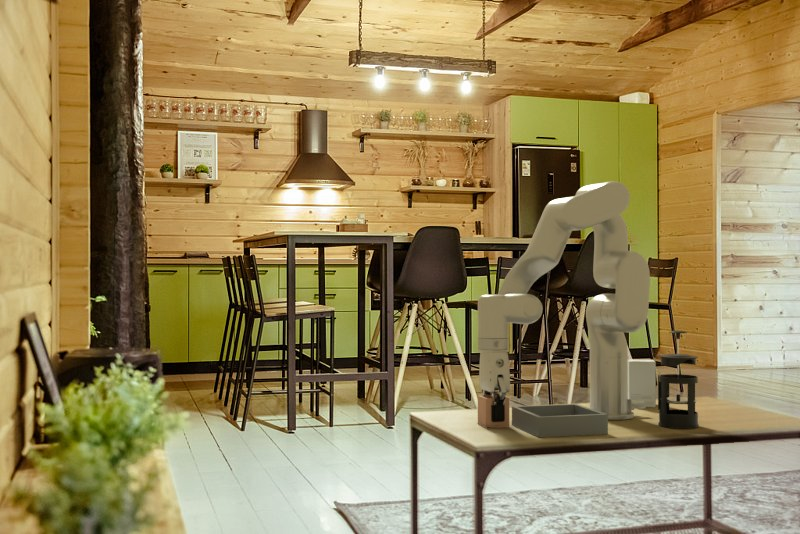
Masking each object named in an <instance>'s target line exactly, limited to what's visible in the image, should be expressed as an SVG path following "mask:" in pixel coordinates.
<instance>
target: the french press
mask: <svg viewBox="0 0 800 534" xmlns="http://www.w3.org/2000/svg"><path fill="white" fill-rule="evenodd" d="M668 333H669V334H675V339H676V340H677V341H676V344H677V345H676V346H677V347H676V348H677V352H676V353H667V354H660V355H658V358H660V365H661V366H665V367H677V373H667V374H666V373H665V374H658V375H657V410H658V411H659V412H658V413H659V414H658V415H659V416H658V419H659V421H658V424H657V425H658V427H662V428H664V429H666V428H667V429H671V430H693V429H698V428H699V427H700V425H699V413H698V411H696V402H697V398H696V384H697V383H698V381H699V380H698V379H699V377H698V376H697V375H692V374H683V373H682V374H680V365H681V364H683V365H684V364H685V365H694V366H697V365H696V364H697V359H698V356H697V355H691V354H688V353H687V354H685V353H680V339H681V334H688V331H684V330H671V331H669V332H668ZM670 384H673V385H675V384H676V385H677V393H676V396H670ZM680 385H687V397H685V396H683V397H682V396H681V394H680ZM670 404H673V405H687V409H678V408H677V409H676V408H673V409H672V408H670Z"/></svg>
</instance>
